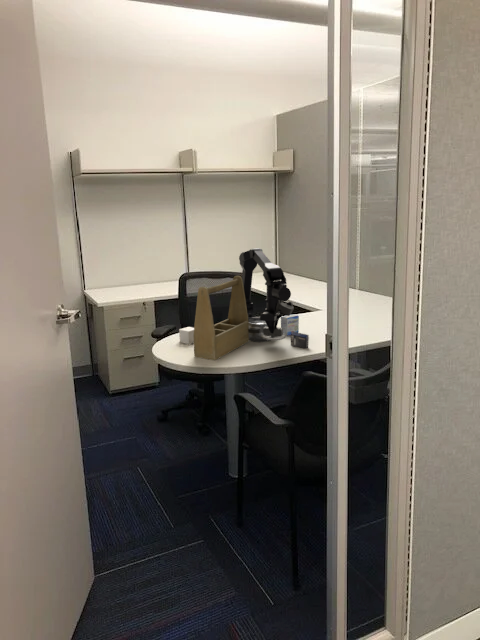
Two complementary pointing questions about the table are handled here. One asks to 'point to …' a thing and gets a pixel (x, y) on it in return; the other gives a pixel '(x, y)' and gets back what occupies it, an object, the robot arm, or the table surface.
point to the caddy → (225, 333)
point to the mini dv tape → (299, 340)
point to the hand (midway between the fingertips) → (273, 332)
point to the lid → (273, 334)
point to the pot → (256, 329)
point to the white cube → (187, 335)
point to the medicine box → (290, 324)
